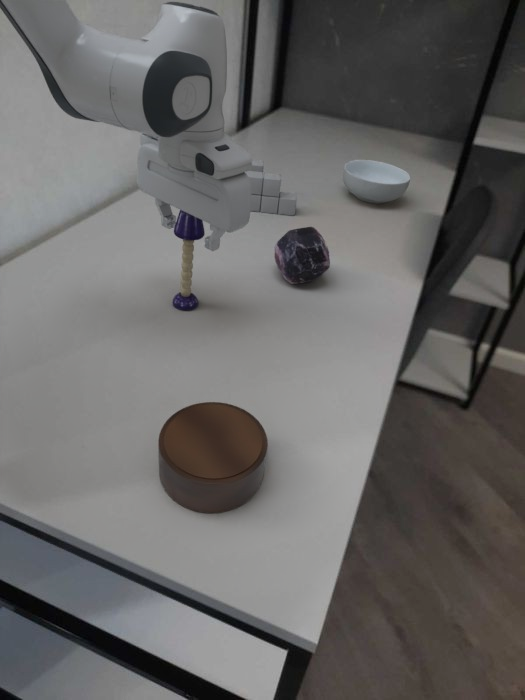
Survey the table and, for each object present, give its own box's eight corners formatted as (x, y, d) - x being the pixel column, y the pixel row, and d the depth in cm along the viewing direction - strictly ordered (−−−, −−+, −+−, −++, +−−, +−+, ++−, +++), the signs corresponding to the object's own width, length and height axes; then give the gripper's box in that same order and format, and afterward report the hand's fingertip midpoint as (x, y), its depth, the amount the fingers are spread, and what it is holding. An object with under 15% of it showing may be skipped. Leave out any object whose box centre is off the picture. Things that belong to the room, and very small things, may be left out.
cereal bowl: (373, 215, 125) (380, 187, 121) (325, 191, 135) (330, 164, 130) (416, 204, 134) (424, 177, 130) (369, 182, 144) (375, 156, 140)
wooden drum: (213, 534, 54) (215, 504, 51) (137, 469, 59) (134, 438, 56) (283, 468, 61) (289, 438, 58) (210, 416, 67) (212, 386, 64)
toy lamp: (190, 293, 90) (192, 200, 79) (207, 305, 87) (211, 211, 77) (167, 302, 87) (166, 206, 76) (184, 315, 84) (186, 218, 74)
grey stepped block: (294, 215, 120) (299, 182, 115) (242, 210, 120) (245, 176, 115) (292, 196, 130) (297, 164, 125) (245, 191, 129) (247, 158, 124)
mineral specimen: (330, 288, 92) (316, 236, 87) (275, 295, 96) (259, 246, 91) (339, 263, 99) (327, 214, 94) (288, 270, 104) (274, 224, 98)
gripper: (123, 128, 74) (129, 219, 82) (229, 171, 64) (223, 269, 73) (157, 122, 78) (159, 209, 86) (261, 161, 68) (252, 255, 77)
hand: (189, 237), depth 79 cm, fingers open, 8 cm apart
